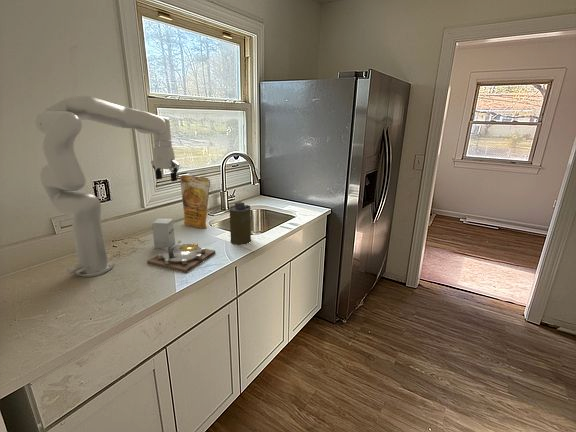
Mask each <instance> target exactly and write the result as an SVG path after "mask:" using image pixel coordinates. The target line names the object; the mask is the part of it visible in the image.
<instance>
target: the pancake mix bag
mask: <svg viewBox="0 0 576 432" xmlns="http://www.w3.org/2000/svg"><path fill="white" fill-rule="evenodd" d="M179 178H180V187H181V188H180V189H181V201H182V206H183V207H182V209H183V215H184V217H183V219H184V221H183V224H184V225H185V226H188V227H192V228H197V229H207V224H206V222H207V216H208V215H207V214H208V204H209V199H210V198H209V194H210V187H211V180H210V179H209V178H207V177H201V176H200V177H199V176H194V175H185V174H182V175H180V176H179Z"/></svg>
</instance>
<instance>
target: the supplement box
mask: <svg viewBox="0 0 576 432" xmlns="http://www.w3.org/2000/svg"><path fill="white" fill-rule="evenodd" d="M174 226H175V225H174V219H173V218H157V219H156V220H154V221H153V222H151V227H152V236H153V237H152V238H153V243H154V244H153V246H154V249H161V250H163V248H165V247H172V246H174V245H175V244H176V237H175V227H174Z"/></svg>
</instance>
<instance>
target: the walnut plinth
mask: <svg viewBox="0 0 576 432" xmlns="http://www.w3.org/2000/svg"><path fill="white" fill-rule="evenodd" d="M177 242H178V243H177V245H178V244H179V243H182V240H178V241H177ZM162 253H163V252H161V253H160V254H162ZM215 254H217V253H216V250H213V249H209V248H205V252H204V253H202V258H201V259H200V260H199V259H195V260H193V261H189V262H187V264H183V265H182V263H170V264H165V260H164V259H159V257H158V254H157V255H155V256H153V257H151V258H149V259H147V261H146V263H147V265H150V266H155V267H160V268H163V269H168V270H172V271H176V272H181V273H184V274H188V273H189V272H191V271H192V270H193V269H195V268H196V267H198V266H199V265H201V264H202V263H204V262H205V261H207V260H208V259H210V258H211V257H213V256H214V255H215ZM203 261H204V262H203Z"/></svg>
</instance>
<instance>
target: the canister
mask: <svg viewBox="0 0 576 432" xmlns="http://www.w3.org/2000/svg"><path fill="white" fill-rule="evenodd" d="M251 209H252V208H251V205H248V204H245V203H244V202H243V201H238V202H235V203H234V205H231V206H229V207H228V210H229V225H230V226H229V228H230V232H229V233H230V241H229V242H230V243H231V244H233V245H235V244H237V245H236V246H242V245H241V244H245V245H248V244H250V243H251V242H252V236H251V235H252V232H251V231H252V230H251V229H252V228H251V227H252V225H251V222H252V221H251ZM249 242H250V243H249ZM247 243H248V244H247Z"/></svg>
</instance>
